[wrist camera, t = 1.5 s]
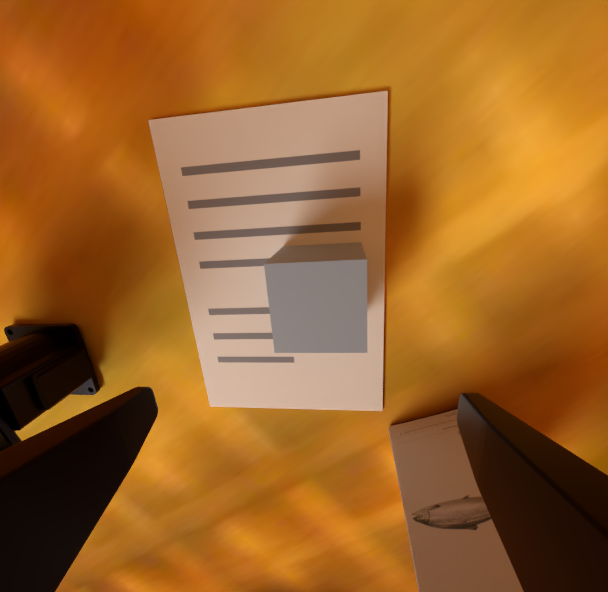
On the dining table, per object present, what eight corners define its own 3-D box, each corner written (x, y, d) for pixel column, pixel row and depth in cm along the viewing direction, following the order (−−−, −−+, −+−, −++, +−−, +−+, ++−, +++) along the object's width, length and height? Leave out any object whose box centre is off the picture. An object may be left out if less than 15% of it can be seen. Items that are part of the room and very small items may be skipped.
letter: (211, 404, 25) (210, 406, 24) (150, 120, 18) (148, 119, 18) (382, 409, 23) (382, 411, 23) (387, 91, 16) (387, 90, 16)
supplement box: (482, 396, 21) (657, 652, 10) (508, 470, 23) (680, 759, 11) (384, 423, 23) (428, 664, 11) (415, 489, 25) (480, 755, 13)
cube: (289, 316, 21) (274, 352, 16) (283, 246, 19) (263, 264, 15) (361, 315, 20) (367, 352, 15) (360, 242, 18) (367, 259, 14)
